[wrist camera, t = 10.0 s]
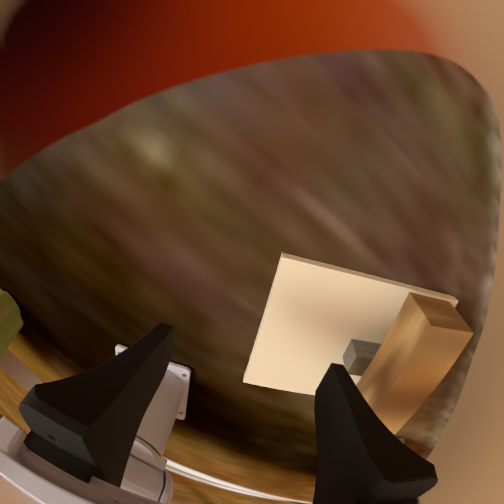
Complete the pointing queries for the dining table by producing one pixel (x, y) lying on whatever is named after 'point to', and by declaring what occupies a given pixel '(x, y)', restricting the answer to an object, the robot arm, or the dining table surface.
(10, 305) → the plant pot
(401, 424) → the oak bar
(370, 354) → the fulcrum strip
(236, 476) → the dining table surface
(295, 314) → the serving board
